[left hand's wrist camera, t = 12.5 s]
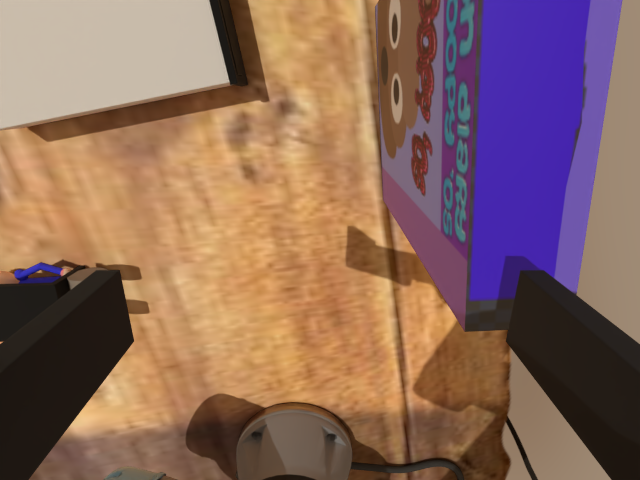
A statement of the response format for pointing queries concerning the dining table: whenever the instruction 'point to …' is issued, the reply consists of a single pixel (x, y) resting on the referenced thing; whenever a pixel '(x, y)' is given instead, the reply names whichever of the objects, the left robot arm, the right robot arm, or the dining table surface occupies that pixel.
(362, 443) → the dining table surface
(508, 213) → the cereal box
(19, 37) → the disc drive
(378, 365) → the dining table surface
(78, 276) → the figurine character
